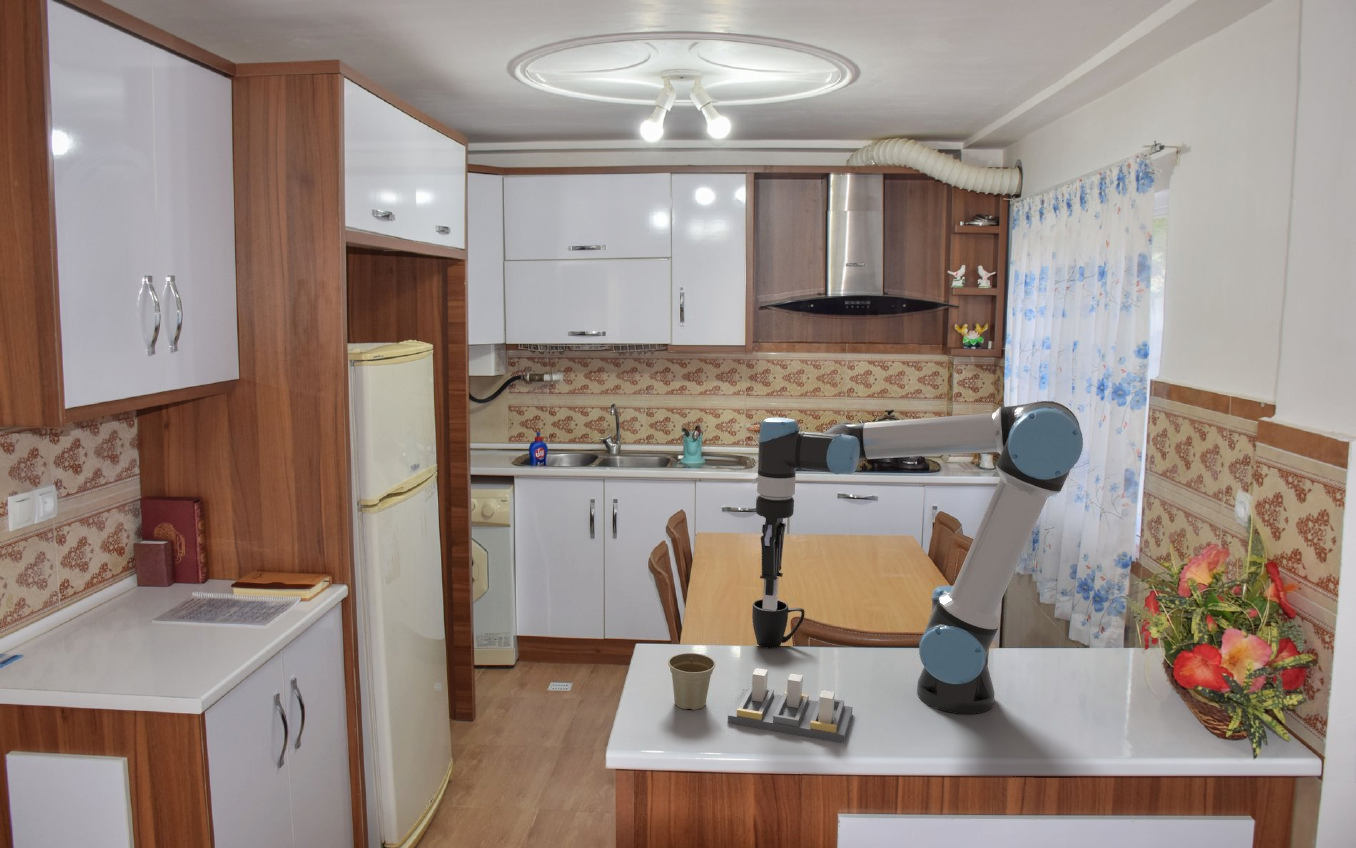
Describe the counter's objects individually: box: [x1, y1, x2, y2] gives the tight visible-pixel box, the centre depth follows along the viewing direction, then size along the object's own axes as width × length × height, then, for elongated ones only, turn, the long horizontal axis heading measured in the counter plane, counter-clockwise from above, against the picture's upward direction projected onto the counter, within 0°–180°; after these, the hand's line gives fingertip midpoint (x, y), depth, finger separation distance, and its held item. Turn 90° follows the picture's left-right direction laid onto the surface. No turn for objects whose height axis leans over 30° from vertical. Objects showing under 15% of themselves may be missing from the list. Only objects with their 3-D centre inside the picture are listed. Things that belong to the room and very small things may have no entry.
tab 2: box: [786, 673, 804, 708], centre depth 177 cm, size 2×3×6 cm
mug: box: [751, 598, 805, 649], centre depth 210 cm, size 8×12×10 cm
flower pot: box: [667, 652, 717, 711], centre depth 180 cm, size 9×9×9 cm
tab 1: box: [751, 667, 769, 702], centre depth 179 cm, size 2×3×6 cm
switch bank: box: [727, 685, 854, 744], centre depth 175 cm, size 22×12×3 cm, turn 72°
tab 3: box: [818, 689, 835, 724], centre depth 170 cm, size 2×3×6 cm
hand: (769, 608), depth 184 cm, fingers closed
